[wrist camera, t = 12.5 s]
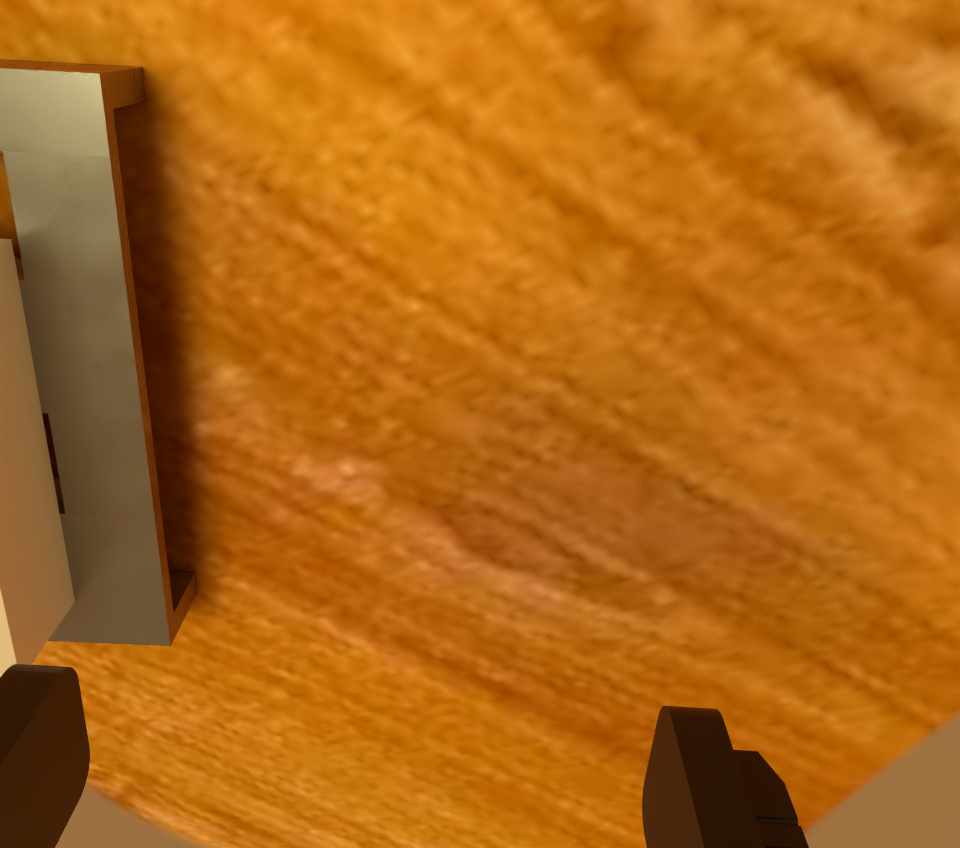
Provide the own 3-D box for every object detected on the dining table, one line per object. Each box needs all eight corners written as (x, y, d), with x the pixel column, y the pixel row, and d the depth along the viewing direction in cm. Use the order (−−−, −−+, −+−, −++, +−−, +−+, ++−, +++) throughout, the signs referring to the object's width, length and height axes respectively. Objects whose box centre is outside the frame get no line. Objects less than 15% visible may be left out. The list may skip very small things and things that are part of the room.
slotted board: (-181, 49, 33) (-264, 54, 29) (141, 67, 33) (99, 73, 29) (-50, 582, 43) (-99, 634, 39) (197, 592, 43) (170, 645, 40)
